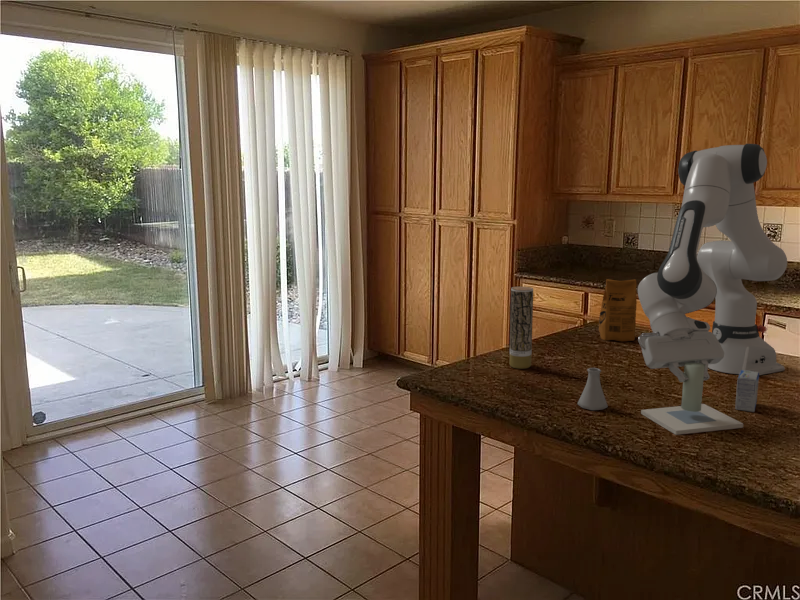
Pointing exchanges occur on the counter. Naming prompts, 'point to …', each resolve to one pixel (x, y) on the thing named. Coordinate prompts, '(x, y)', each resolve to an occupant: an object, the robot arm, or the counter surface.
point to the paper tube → (521, 327)
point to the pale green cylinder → (693, 387)
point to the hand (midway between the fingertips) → (695, 380)
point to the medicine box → (747, 390)
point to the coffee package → (618, 311)
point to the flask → (593, 392)
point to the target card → (691, 419)
